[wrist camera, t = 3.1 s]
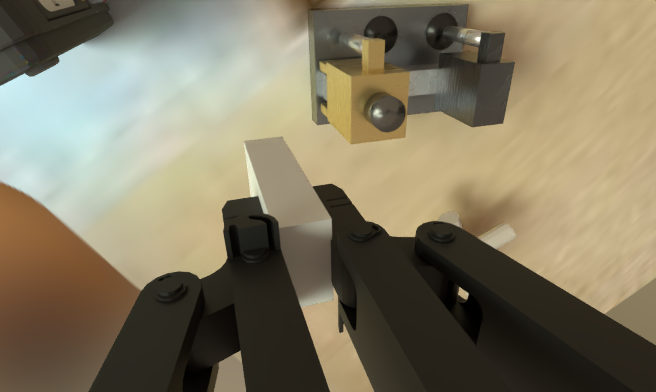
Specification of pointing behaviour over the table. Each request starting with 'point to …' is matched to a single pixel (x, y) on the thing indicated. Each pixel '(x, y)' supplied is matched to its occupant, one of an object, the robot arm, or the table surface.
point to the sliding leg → (366, 93)
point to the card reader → (45, 32)
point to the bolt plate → (420, 58)
